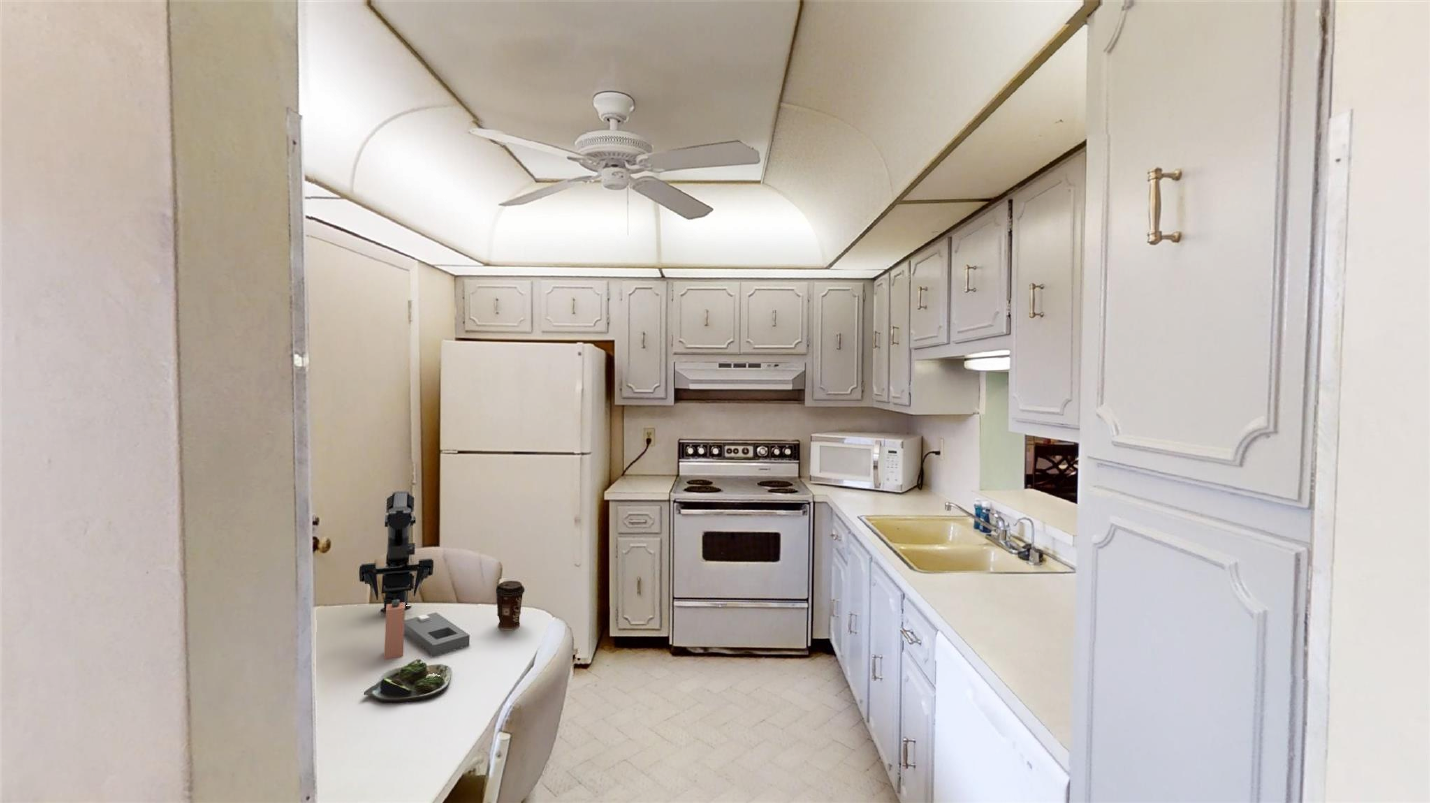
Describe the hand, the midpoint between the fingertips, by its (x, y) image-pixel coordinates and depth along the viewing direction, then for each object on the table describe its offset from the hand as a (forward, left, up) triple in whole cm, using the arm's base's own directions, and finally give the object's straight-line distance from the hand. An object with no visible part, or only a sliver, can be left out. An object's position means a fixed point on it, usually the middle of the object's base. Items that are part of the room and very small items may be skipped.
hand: (396, 597), depth 164 cm
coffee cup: (-21, +22, -13) cm, 33 cm away
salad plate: (+18, +21, -14) cm, 31 cm away
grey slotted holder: (-7, +8, -13) cm, 16 cm away
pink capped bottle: (+5, +5, -13) cm, 15 cm away
